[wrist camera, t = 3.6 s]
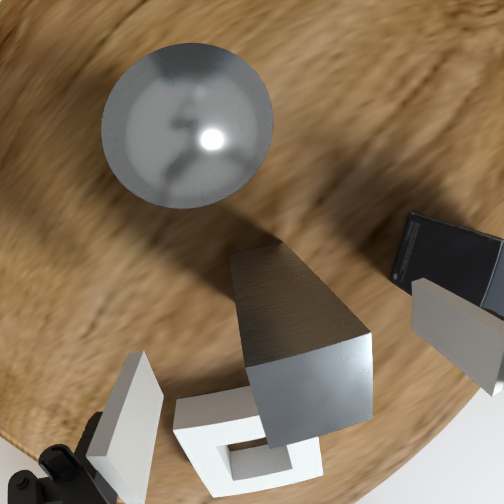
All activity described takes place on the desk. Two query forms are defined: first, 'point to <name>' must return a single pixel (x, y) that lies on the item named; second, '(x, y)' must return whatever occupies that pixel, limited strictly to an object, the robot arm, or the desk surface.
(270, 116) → the round bit
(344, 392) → the square bit
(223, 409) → the socket block
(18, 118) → the desk surface
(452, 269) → the small box
